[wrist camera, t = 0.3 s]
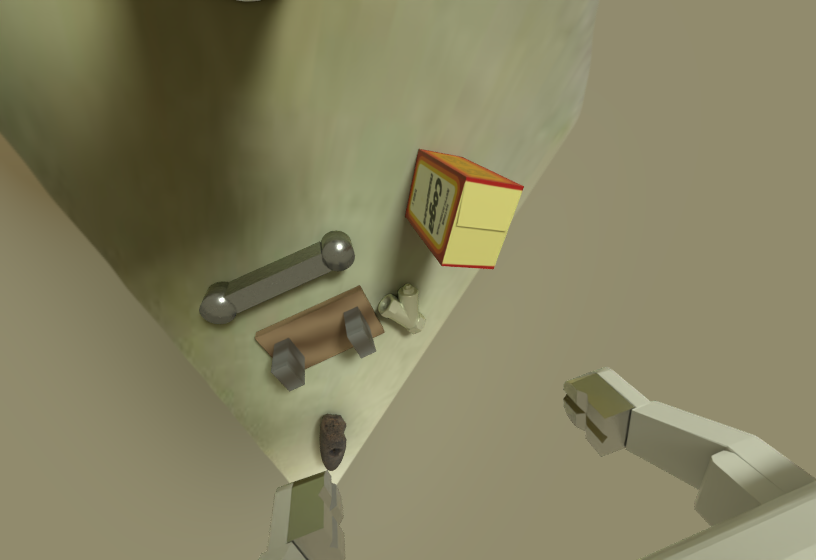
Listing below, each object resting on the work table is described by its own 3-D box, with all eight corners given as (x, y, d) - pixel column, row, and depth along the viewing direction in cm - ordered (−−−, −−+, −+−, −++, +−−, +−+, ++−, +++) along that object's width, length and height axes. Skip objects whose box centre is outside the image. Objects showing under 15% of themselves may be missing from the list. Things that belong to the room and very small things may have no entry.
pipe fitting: (401, 275, 53) (375, 305, 54) (409, 286, 50) (381, 317, 51) (432, 298, 58) (408, 325, 59) (441, 309, 54) (415, 337, 55)
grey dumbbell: (199, 289, 45) (191, 306, 42) (343, 225, 46) (346, 236, 42) (220, 311, 48) (214, 328, 44) (356, 250, 48) (359, 263, 45)
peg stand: (256, 332, 51) (249, 366, 45) (359, 285, 51) (367, 312, 45) (289, 369, 56) (287, 405, 50) (382, 327, 57) (392, 356, 51)
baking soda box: (445, 220, 50) (495, 270, 36) (405, 216, 47) (442, 267, 34) (462, 156, 45) (526, 187, 32) (418, 148, 43) (468, 178, 30)
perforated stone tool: (341, 449, 72) (344, 481, 67) (317, 453, 71) (318, 485, 65) (346, 404, 65) (350, 435, 59) (320, 407, 63) (321, 439, 58)
